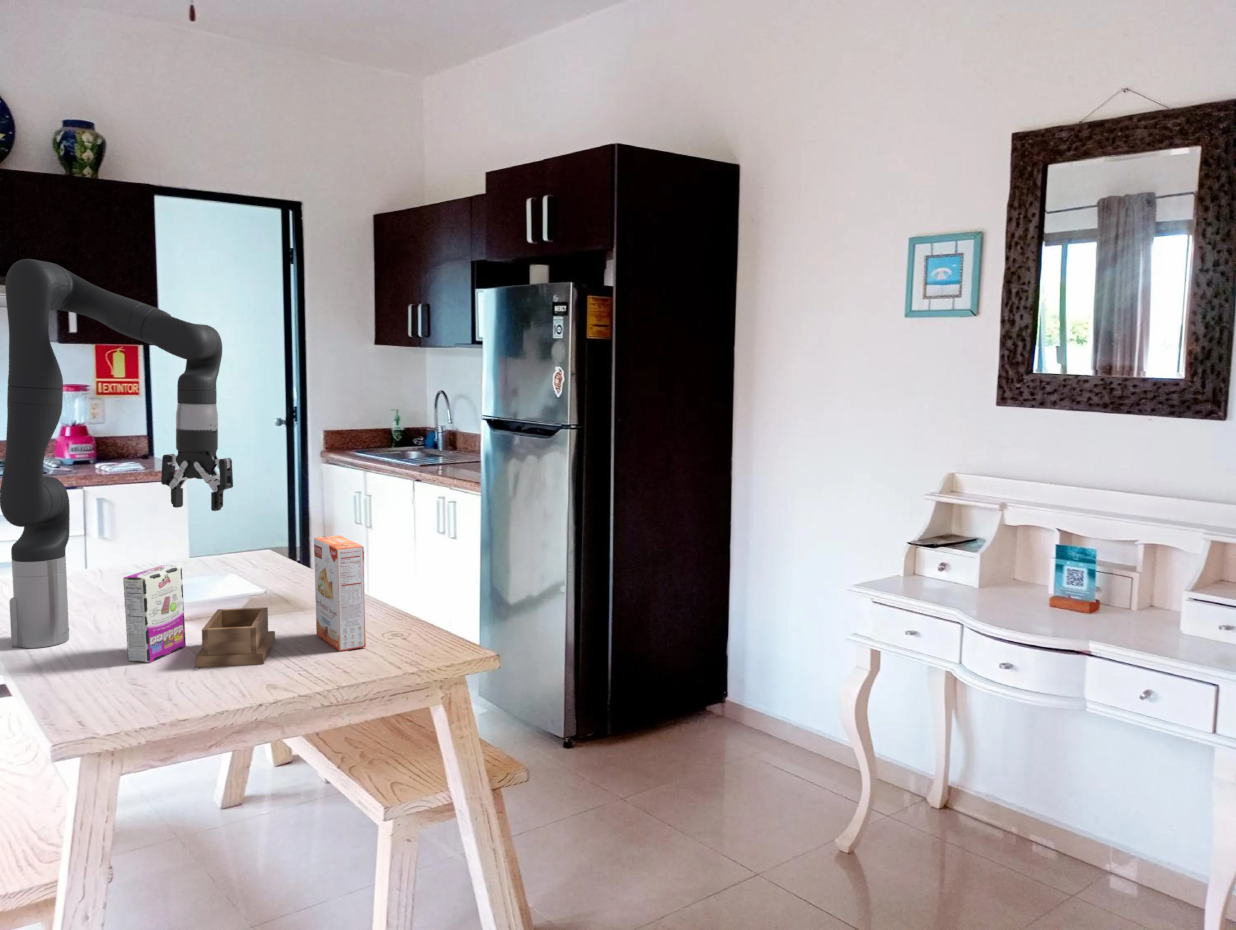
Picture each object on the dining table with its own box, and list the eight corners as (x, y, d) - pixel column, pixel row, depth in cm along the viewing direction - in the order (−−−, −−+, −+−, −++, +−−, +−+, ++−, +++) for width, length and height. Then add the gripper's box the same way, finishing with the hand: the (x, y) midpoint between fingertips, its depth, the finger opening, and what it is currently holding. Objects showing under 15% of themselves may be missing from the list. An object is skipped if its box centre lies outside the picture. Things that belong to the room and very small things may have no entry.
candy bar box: (164, 645, 193) (161, 564, 191) (186, 647, 192) (183, 565, 190) (125, 661, 182) (121, 576, 181) (148, 663, 181) (145, 577, 180)
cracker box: (314, 636, 201) (312, 536, 199) (342, 631, 205) (341, 534, 203) (337, 652, 190) (335, 547, 188) (366, 647, 193) (365, 544, 191)
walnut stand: (195, 667, 179) (194, 630, 179) (212, 643, 195) (211, 609, 194) (263, 663, 182) (262, 627, 181) (275, 640, 197) (274, 606, 197)
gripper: (152, 425, 187) (152, 508, 188) (217, 429, 184) (217, 514, 186) (177, 423, 194) (177, 503, 196) (241, 427, 191) (240, 509, 193)
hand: (197, 508), depth 191 cm, fingers open, 8 cm apart
